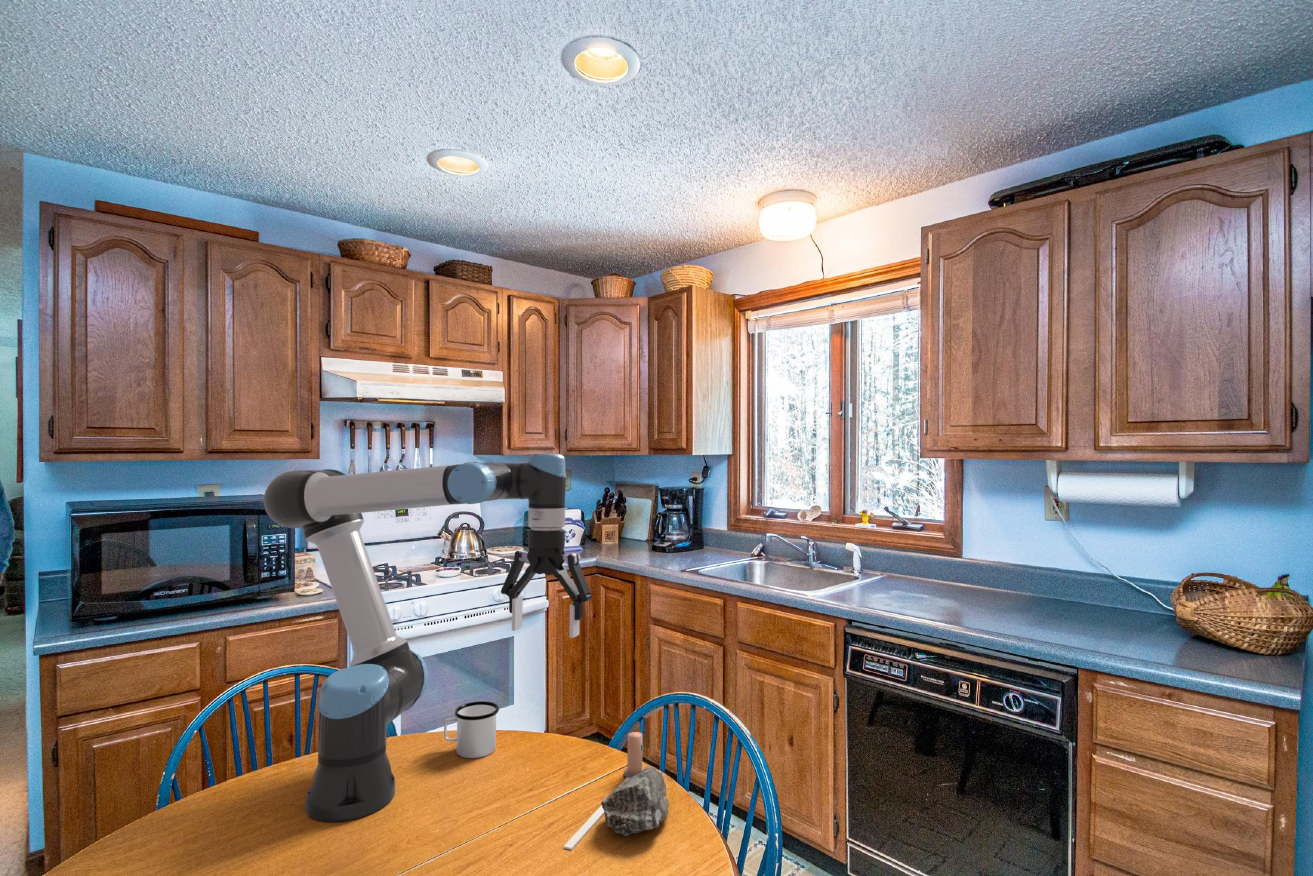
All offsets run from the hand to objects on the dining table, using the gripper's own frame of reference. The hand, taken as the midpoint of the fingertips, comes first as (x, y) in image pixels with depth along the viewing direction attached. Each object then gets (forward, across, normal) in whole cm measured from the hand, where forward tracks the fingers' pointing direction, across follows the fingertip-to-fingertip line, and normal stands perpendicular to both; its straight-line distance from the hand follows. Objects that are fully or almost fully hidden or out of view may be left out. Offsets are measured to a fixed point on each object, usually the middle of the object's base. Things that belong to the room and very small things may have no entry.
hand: (545, 632), depth 132 cm
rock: (+29, +24, -7) cm, 38 cm away
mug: (+29, -21, +4) cm, 36 cm away
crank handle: (+29, +17, -5) cm, 34 cm away
